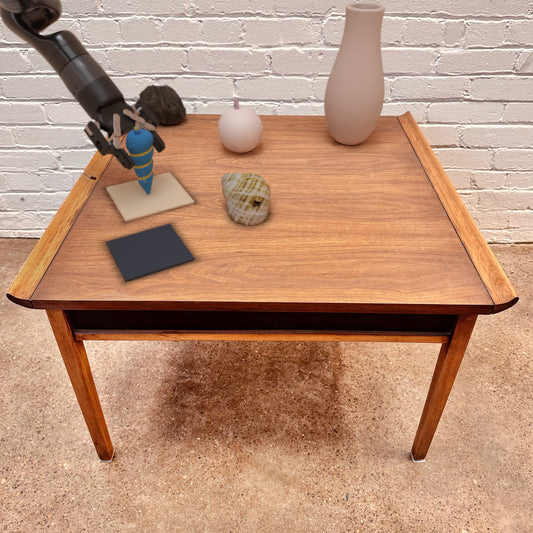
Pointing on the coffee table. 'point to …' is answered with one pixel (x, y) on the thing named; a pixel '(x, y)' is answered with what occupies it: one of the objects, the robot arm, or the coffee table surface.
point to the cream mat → (149, 197)
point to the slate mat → (148, 252)
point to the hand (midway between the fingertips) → (148, 158)
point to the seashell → (246, 197)
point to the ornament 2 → (240, 128)
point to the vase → (356, 76)
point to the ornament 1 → (141, 155)
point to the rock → (163, 103)
